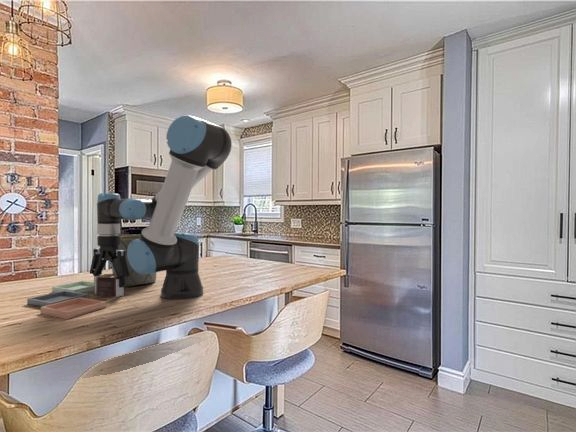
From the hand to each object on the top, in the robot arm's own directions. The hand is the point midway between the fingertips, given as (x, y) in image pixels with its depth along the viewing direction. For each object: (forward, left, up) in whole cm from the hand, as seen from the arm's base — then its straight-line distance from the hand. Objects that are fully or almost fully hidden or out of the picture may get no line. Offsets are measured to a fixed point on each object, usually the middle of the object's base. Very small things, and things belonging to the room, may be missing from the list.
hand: (109, 294), depth 124 cm
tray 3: (-7, +18, 0) cm, 19 cm away
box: (0, 0, 0) cm, 0 cm away
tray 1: (+7, +14, 0) cm, 16 cm away
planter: (+8, -19, 0) cm, 21 cm away
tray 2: (+17, 0, 0) cm, 17 cm away
